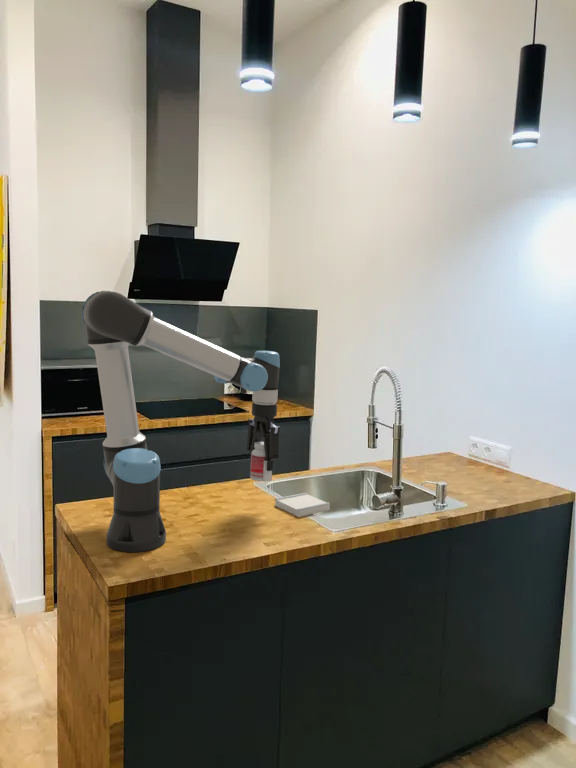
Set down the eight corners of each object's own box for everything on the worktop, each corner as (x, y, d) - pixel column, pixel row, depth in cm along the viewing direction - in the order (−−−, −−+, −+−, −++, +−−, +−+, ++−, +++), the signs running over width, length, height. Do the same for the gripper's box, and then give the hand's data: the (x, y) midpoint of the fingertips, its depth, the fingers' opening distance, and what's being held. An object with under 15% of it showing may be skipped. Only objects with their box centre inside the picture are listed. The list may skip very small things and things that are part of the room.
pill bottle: (271, 482, 190) (273, 445, 188) (250, 481, 189) (252, 445, 188) (269, 476, 196) (271, 441, 195) (249, 475, 195) (251, 440, 194)
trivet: (298, 517, 189) (298, 509, 189) (275, 505, 198) (275, 498, 198) (329, 510, 196) (329, 503, 196) (305, 499, 206) (305, 492, 205)
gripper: (294, 407, 184) (289, 484, 187) (257, 397, 199) (253, 468, 202) (272, 408, 180) (268, 487, 183) (237, 398, 195) (233, 471, 198)
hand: (260, 477), depth 193 cm, fingers closed on pill bottle, 6 cm apart
